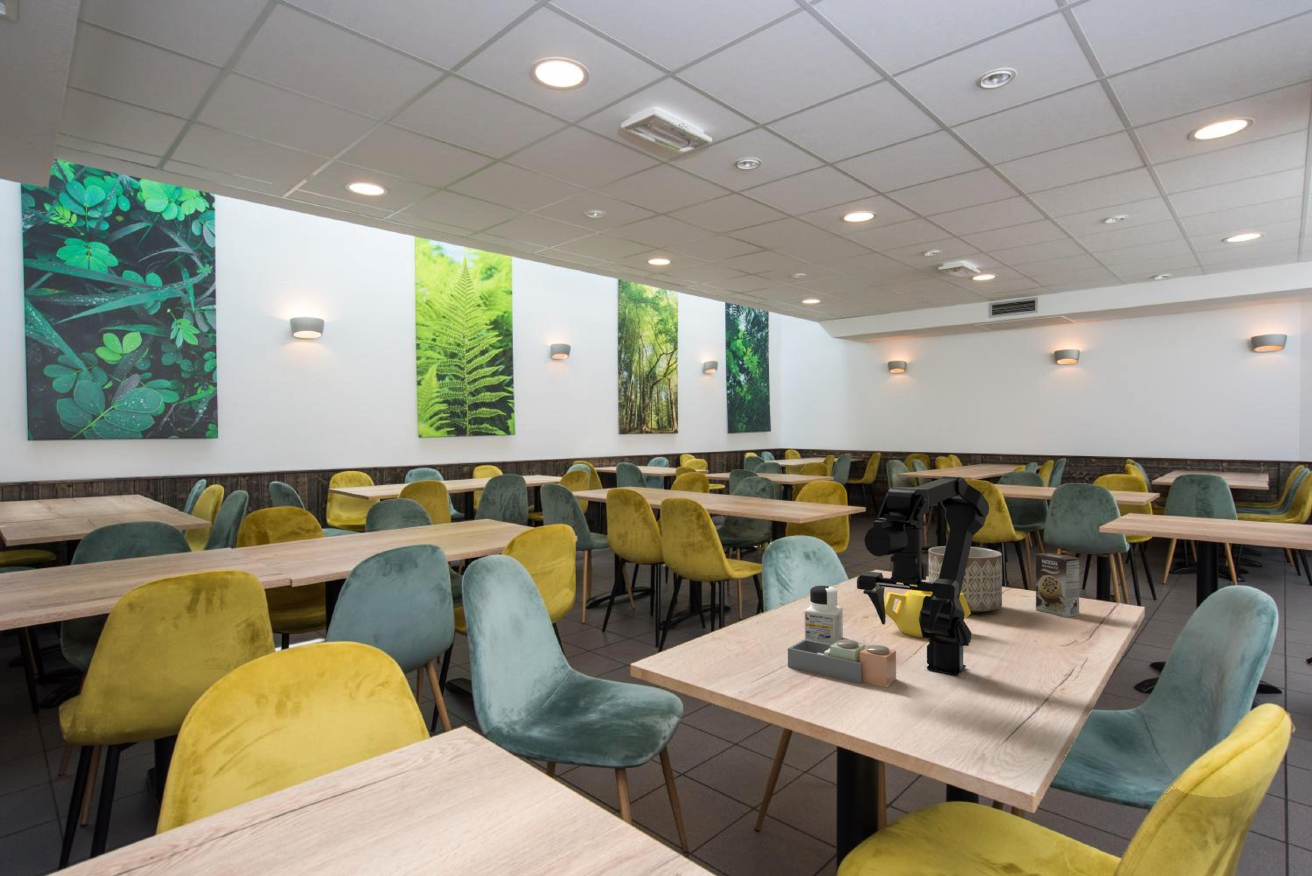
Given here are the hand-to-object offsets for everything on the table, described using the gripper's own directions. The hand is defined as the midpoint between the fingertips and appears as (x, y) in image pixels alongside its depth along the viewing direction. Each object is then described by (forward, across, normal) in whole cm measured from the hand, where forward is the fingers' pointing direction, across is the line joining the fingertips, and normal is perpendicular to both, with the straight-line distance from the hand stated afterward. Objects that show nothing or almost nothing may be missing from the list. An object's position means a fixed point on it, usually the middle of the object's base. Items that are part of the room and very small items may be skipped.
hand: (907, 627), depth 136 cm
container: (+12, +25, -21) cm, 35 cm away
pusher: (+12, +17, -2) cm, 21 cm away
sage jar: (+12, +12, -1) cm, 17 cm away
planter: (+13, 0, -71) cm, 72 cm away
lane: (+12, +16, -1) cm, 20 cm away
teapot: (+12, +5, -42) cm, 44 cm away
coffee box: (+13, -23, -79) cm, 83 cm away
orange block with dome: (+12, +6, 0) cm, 13 cm away
